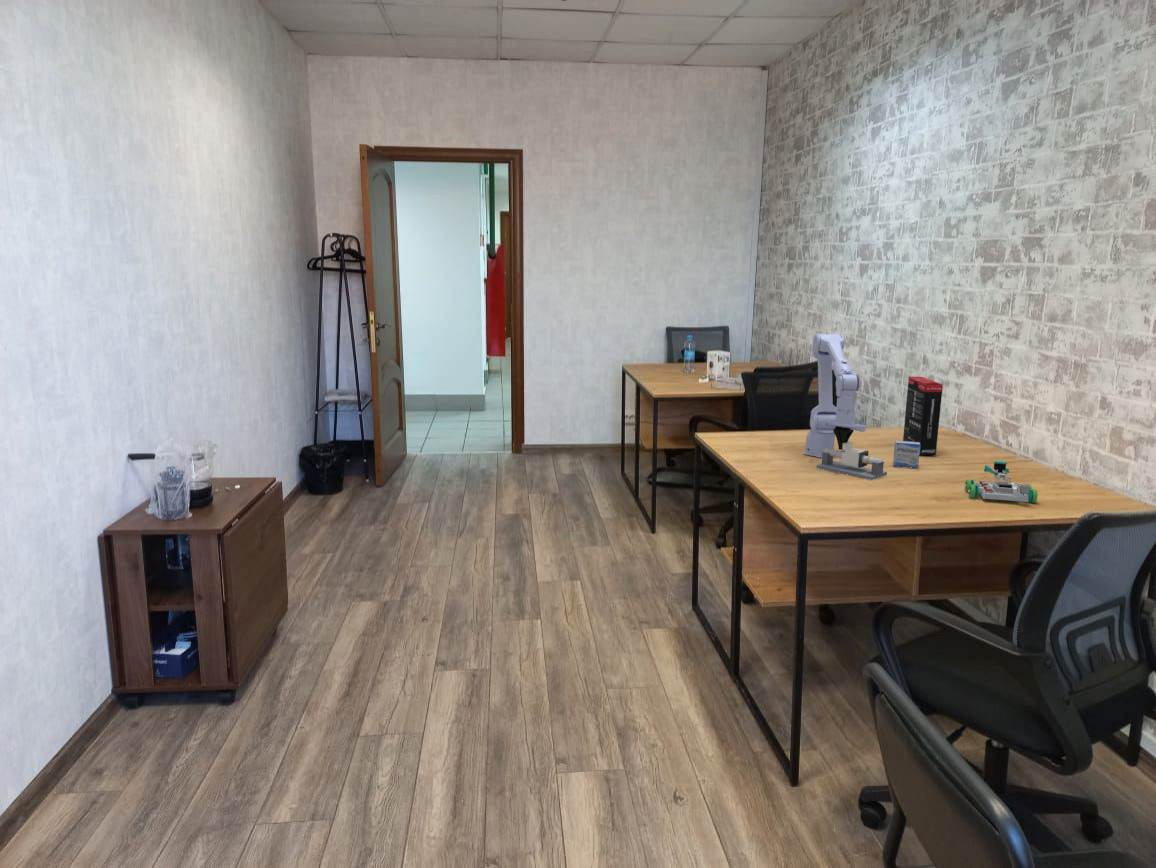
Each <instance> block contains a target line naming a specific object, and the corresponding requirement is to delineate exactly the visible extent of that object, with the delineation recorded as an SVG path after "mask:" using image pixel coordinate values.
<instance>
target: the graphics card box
mask: <svg viewBox="0 0 1156 868" xmlns="http://www.w3.org/2000/svg"><path fill="white" fill-rule="evenodd" d="M943 388H944V385H943V384H942V383H940V382H937V381H934V380H932V379H929V378H927V377H923V376H908V380H907V392H906V402H905V403H906V404H905V414H904V427H903V436H902V441H908V442H919V443H920V445H921V446H920V455H937V448H938V438H939V437H938V436H939V426H940V417H941V406H942V397H943V396H942V395H943Z"/></svg>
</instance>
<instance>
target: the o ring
mask: <svg viewBox="0 0 1156 868" xmlns="http://www.w3.org/2000/svg"><path fill="white" fill-rule="evenodd" d="M869 453H870V452H869V450H865V451H864V452H861V453H859V462H858V467H859V468H861V467H867V466H868V464H867V463H863V464H862V455H864V454H865V456H869Z"/></svg>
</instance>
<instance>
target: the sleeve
mask: <svg viewBox="0 0 1156 868" xmlns="http://www.w3.org/2000/svg"><path fill="white" fill-rule="evenodd" d="M853 445H854V444H853V441H851V440H850V441H849V440H848V442H846V443H843V447H842V450H841V451H842V458H840V459H841V461H840V462H841V464H845V465H850V466H855V467H858V462H859V453H861V452H864V451H866V450H863V449H858V448H853ZM863 456H865V454H864V455H863ZM862 464H863V463H862Z"/></svg>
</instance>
